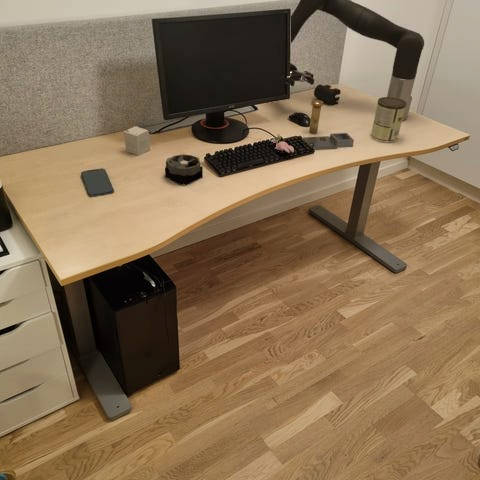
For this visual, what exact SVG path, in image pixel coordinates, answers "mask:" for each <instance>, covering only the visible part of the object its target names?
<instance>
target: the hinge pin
mask: <svg viewBox="0 0 480 480" xmlns="http://www.w3.org/2000/svg"><path fill="white" fill-rule="evenodd" d="M310 105H311V114H310V115H311V116H310V120H309V121H310V123H309V127H308V128H309V129H308V133H309V134H311V135H317V134H318V132H319V124H320V123H319V122H320V117H321V110H322V107H323V106H324V102H323V101H321V100H318V99H313V100H311V102H310Z"/></svg>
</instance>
